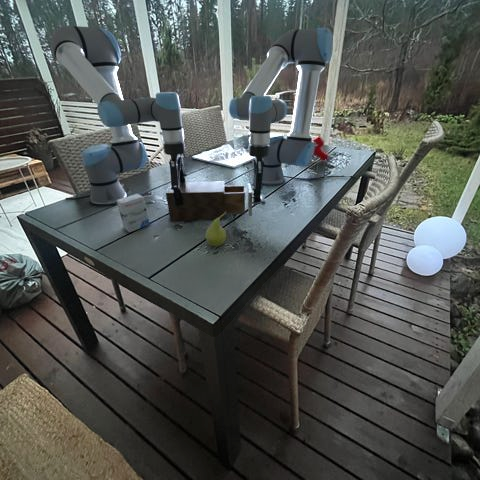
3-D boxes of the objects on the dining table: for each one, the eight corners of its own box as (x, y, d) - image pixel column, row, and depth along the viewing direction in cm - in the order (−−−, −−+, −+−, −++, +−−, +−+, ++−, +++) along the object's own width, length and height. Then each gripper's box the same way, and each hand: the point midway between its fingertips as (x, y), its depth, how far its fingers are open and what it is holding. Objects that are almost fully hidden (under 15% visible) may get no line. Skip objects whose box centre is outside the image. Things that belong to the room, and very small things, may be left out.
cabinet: (225, 207, 117) (224, 181, 111) (225, 219, 108) (224, 191, 102) (175, 208, 117) (170, 182, 110) (170, 221, 107) (165, 193, 101)
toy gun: (332, 155, 171) (320, 134, 167) (331, 157, 167) (319, 136, 164) (306, 170, 181) (294, 151, 177) (306, 172, 177) (293, 153, 174)
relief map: (234, 168, 162) (234, 159, 159) (192, 158, 180) (191, 150, 177) (259, 157, 180) (259, 149, 178) (219, 149, 198) (218, 142, 195)
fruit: (204, 241, 94) (201, 210, 88) (224, 237, 97) (223, 206, 90) (209, 251, 89) (206, 219, 83) (230, 246, 91) (229, 215, 85)
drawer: (262, 204, 117) (263, 183, 111) (265, 215, 108) (266, 192, 103) (202, 206, 116) (200, 184, 111) (200, 217, 108) (198, 194, 102)
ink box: (144, 220, 108) (137, 192, 101) (150, 224, 105) (144, 196, 98) (123, 228, 103) (115, 199, 96) (129, 232, 100) (121, 203, 93)
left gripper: (168, 134, 106) (176, 187, 118) (155, 150, 86) (166, 212, 98) (188, 134, 106) (193, 187, 118) (179, 150, 87) (187, 211, 99)
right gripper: (247, 140, 103) (246, 197, 116) (249, 148, 92) (248, 210, 105) (267, 139, 104) (264, 197, 116) (271, 148, 93) (267, 210, 105)
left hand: (181, 198), depth 108 cm, fingers closed on cabinet, 11 cm apart
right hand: (256, 203), depth 111 cm, fingers closed
